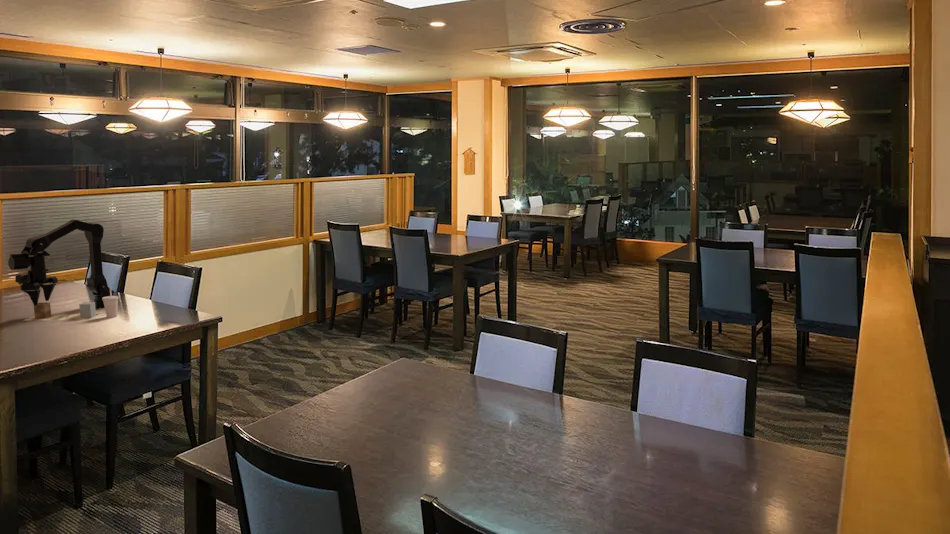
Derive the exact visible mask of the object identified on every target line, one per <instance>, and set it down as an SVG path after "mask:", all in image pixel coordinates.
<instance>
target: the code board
mask: <svg viewBox="0 0 950 534" xmlns="http://www.w3.org/2000/svg"><path fill="white" fill-rule="evenodd" d="M99 315H100V313H96V316H99ZM96 316H94V317H92V318H80V313H51V316H50V317H48V318H36V319H35V315H33V316H32V315H31V316H30V317H28V318H25V319H23V320H22V321H26V322H27V321H31V322H35V321H38V322H39V321H88V320H91V319H93V318H95V317H96Z"/></svg>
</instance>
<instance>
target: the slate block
mask: <svg viewBox="0 0 950 534" xmlns="http://www.w3.org/2000/svg"><path fill="white" fill-rule="evenodd" d="M78 305H79V314H80V318H91V319H93V318H95V317H96V314H97V313H96V311H97V310H96V309H97V308H95V302H94V301H83V302H82V303H81V302H80V303H78ZM94 316H95V317H94ZM92 317H93V318H92Z"/></svg>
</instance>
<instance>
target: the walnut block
mask: <svg viewBox="0 0 950 534" xmlns="http://www.w3.org/2000/svg"><path fill="white" fill-rule="evenodd" d="M33 311H34V316H35V319H36V318H48V317H50V316H51V314H52V307H51V302H38V303H37V305H34V304H33Z"/></svg>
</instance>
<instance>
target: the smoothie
mask: <svg viewBox="0 0 950 534" xmlns="http://www.w3.org/2000/svg"><path fill="white" fill-rule="evenodd" d="M109 288H110V296H107V297H103V298H102V301H103V302H104V307H105V308H104V312H105V315H106V318H107V319H115V318H118V305H119V303H118V302H119V296H118V295H113V296H112V293H111V290H112V287H111V286H110V287H109Z"/></svg>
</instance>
